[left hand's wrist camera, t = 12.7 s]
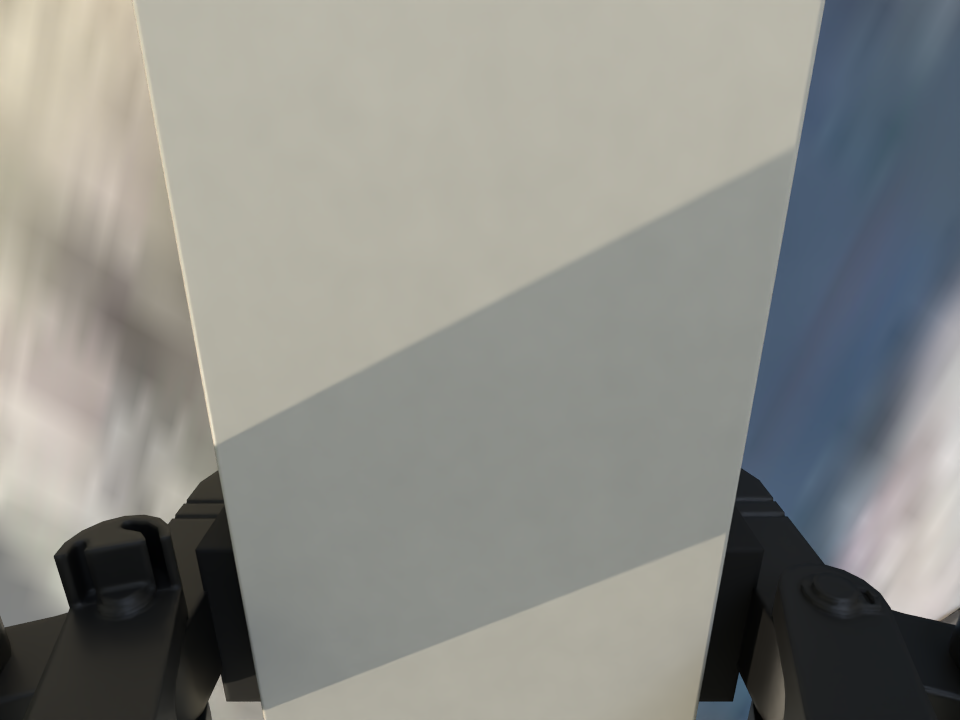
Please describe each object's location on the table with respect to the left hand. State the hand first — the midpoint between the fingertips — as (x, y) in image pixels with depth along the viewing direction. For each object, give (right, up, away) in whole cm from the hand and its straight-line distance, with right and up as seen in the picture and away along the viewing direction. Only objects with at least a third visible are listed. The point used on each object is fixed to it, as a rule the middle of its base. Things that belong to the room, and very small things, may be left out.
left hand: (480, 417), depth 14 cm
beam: (0, +32, -12) cm, 34 cm away
